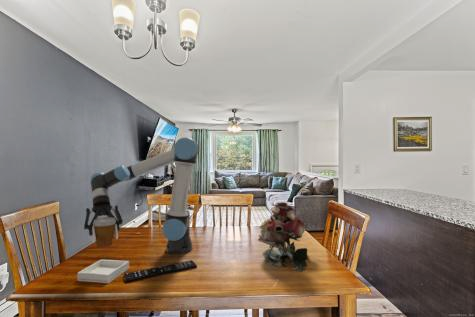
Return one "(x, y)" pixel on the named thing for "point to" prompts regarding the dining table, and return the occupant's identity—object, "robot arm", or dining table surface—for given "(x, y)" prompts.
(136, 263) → the dining table surface
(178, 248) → the robot arm
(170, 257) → the dining table surface
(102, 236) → the disposable coffee cup
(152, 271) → the remote control
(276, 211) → the rose bouquet
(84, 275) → the tray
